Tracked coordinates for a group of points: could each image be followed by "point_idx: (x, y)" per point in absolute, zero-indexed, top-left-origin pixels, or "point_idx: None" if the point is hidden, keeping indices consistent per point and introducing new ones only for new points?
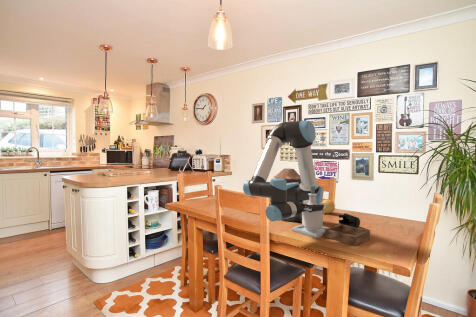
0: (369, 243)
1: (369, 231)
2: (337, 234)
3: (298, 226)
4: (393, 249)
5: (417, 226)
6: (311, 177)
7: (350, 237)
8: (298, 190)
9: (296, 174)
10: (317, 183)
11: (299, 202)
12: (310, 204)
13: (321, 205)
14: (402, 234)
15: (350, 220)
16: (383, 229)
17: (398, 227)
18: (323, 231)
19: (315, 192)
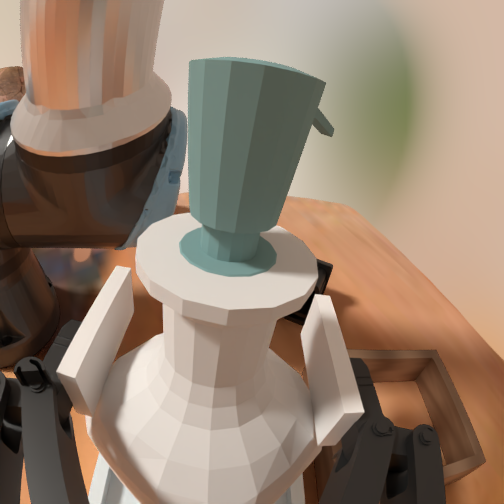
0: None
1: (436, 354)
2: None
3: (102, 497)
4: (498, 398)
5: (371, 226)
6: (140, 5)
7: (466, 471)
8: (6, 159)
9: None
10: (160, 80)
11: (41, 484)
12: (219, 438)
13: (431, 442)
14: (409, 283)
15: (319, 291)
16: (361, 272)
17: (362, 244)
18: (300, 489)
19: (147, 158)
